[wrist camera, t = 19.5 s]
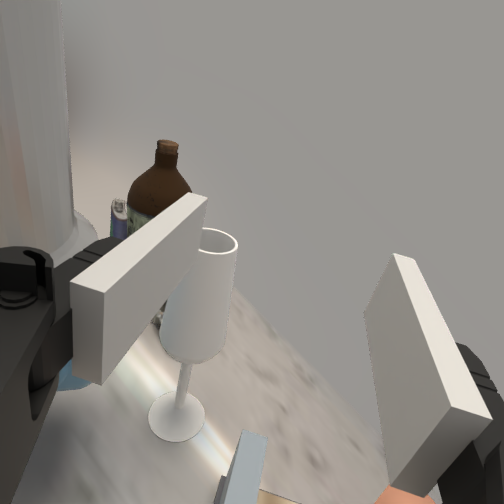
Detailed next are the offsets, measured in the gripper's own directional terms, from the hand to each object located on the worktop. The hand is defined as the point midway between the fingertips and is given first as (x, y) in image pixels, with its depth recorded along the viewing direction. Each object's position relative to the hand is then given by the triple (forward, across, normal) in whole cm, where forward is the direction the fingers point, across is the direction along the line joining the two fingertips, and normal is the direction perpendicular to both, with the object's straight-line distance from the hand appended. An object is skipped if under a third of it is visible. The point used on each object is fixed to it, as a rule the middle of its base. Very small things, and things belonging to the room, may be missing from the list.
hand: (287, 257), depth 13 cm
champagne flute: (+15, -6, -32) cm, 36 cm away
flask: (+45, -32, -32) cm, 64 cm away
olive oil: (+39, -21, -32) cm, 55 cm away
